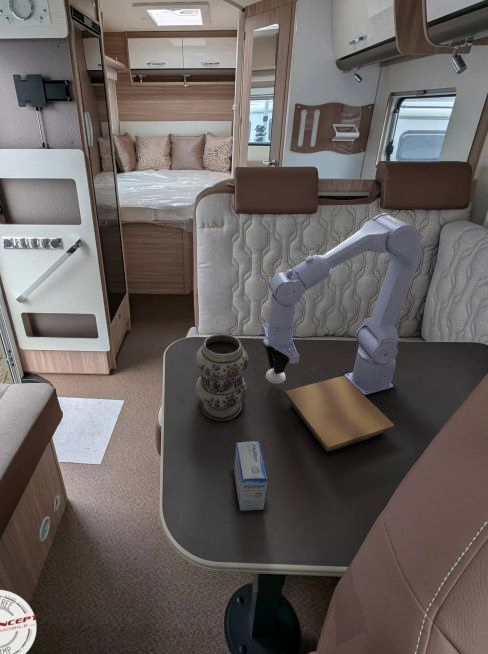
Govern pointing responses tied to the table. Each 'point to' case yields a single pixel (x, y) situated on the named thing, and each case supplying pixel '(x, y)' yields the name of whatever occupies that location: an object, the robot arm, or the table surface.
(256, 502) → the medicine box
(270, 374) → the chess piece
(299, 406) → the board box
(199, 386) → the apothecary jar
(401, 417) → the table surface
